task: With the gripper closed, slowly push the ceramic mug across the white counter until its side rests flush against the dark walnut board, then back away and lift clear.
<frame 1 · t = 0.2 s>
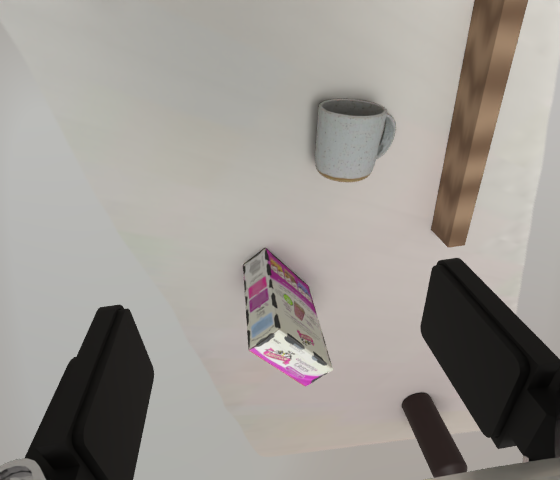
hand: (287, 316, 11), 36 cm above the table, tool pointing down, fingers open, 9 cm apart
candy bar box: (276, 275, 56), on the table
walnut board: (458, 132, 47), on the table
bottle: (415, 400, 81), on the table
ceramic mug: (349, 128, 45), on the table
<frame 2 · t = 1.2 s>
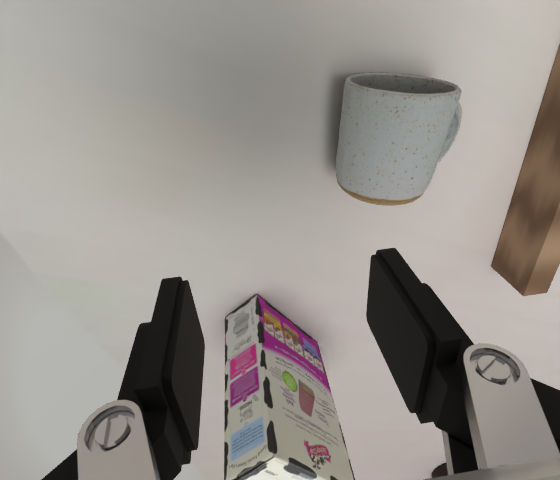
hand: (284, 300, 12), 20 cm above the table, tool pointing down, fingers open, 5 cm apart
candy bar box: (272, 329, 40), on the table
walnut board: (546, 127, 31), on the table
bottle: (448, 468, 64), on the table
ceramic mug: (387, 121, 29), on the table
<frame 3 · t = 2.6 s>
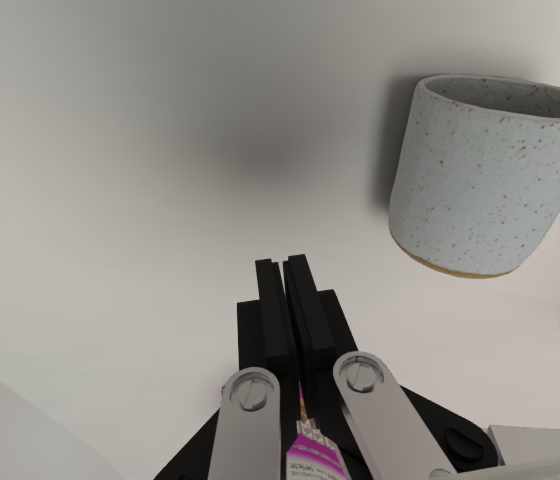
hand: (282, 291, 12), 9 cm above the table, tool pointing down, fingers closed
candy bar box: (282, 397, 32), on the table
ceramic mug: (459, 144, 20), on the table
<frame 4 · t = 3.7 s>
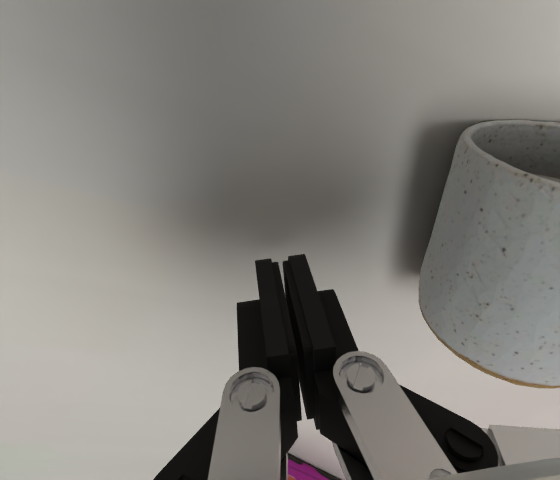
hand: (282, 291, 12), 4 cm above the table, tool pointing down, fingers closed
candy bar box: (283, 473, 27), on the table
ceramic mug: (503, 198, 17), on the table
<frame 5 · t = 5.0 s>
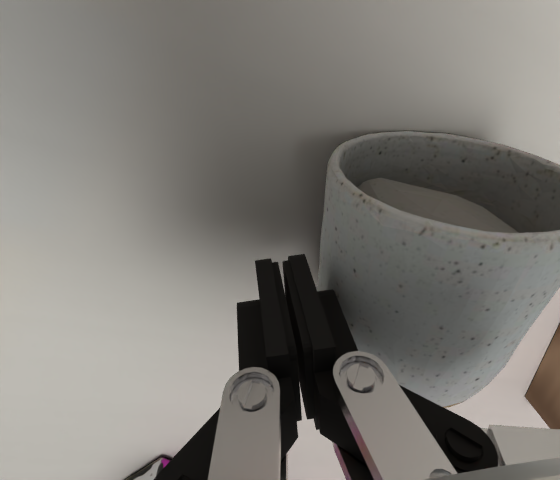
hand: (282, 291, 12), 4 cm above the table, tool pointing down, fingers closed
ceramic mug: (410, 210, 16), on the table, touching gripper
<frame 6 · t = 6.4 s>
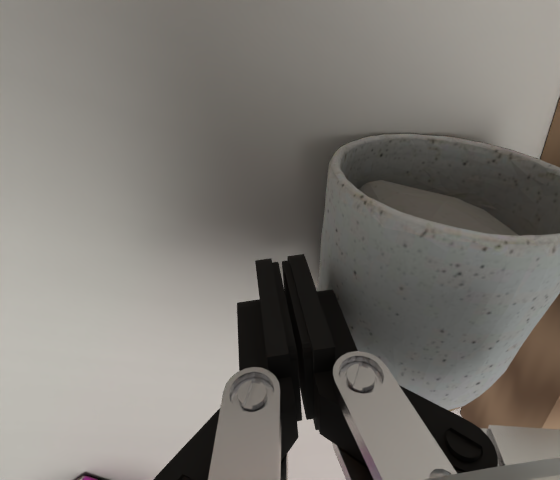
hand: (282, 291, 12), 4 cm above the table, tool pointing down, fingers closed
walnut board: (540, 231, 17), on the table
ceramic mug: (411, 213, 16), on the table, touching gripper, walnut board
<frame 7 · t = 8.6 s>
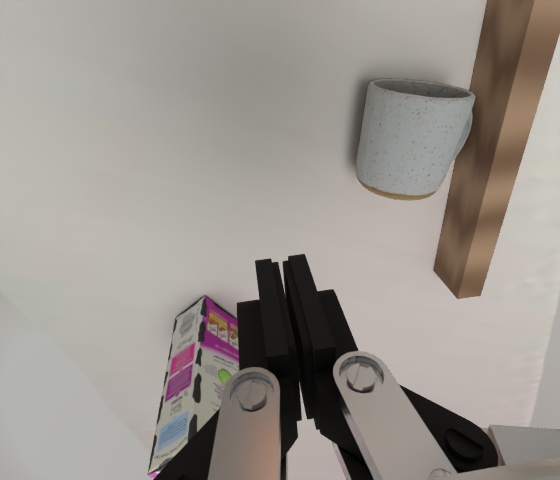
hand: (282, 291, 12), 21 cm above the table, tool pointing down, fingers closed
candy bar box: (224, 330, 42), on the table
walnut board: (472, 138, 33), on the table
ceramic mug: (403, 124, 32), on the table
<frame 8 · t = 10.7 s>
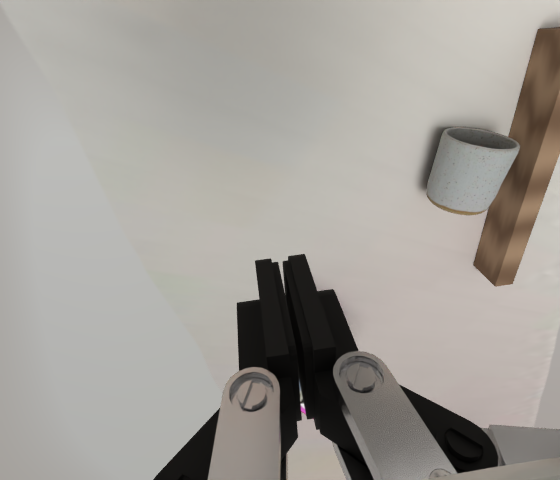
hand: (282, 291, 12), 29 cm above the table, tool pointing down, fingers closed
walnut board: (509, 167, 44), on the table
ceramic mug: (459, 157, 43), on the table
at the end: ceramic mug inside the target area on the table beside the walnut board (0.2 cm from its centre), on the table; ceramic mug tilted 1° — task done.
